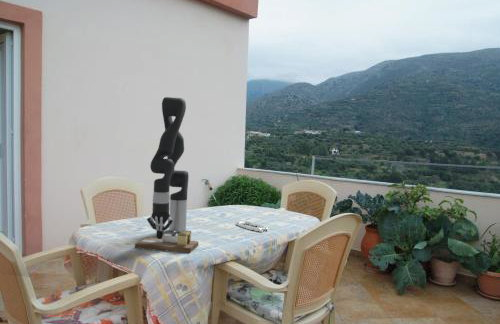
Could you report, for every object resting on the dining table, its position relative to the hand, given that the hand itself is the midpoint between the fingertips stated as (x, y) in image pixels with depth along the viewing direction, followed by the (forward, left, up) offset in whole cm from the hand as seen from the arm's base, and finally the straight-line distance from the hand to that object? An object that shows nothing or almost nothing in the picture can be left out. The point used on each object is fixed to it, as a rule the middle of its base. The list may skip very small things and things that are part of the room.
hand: (159, 238), depth 162 cm
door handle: (-53, +35, -4) cm, 63 cm away
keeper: (0, +12, -2) cm, 12 cm away
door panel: (0, +4, -4) cm, 5 cm away
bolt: (0, +7, -1) cm, 7 cm away
